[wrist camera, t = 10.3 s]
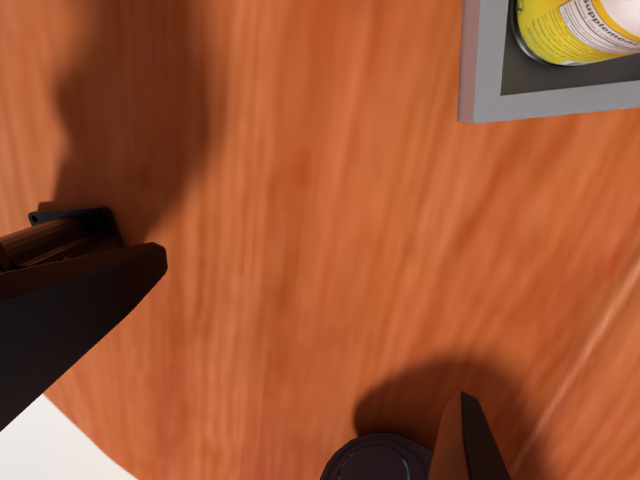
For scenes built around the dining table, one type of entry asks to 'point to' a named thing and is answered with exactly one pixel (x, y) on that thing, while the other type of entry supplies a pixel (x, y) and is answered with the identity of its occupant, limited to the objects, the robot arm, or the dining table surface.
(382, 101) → the dining table surface
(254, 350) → the dining table surface
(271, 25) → the dining table surface
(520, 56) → the can holder
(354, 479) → the portable speaker
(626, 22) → the supplement bottle
